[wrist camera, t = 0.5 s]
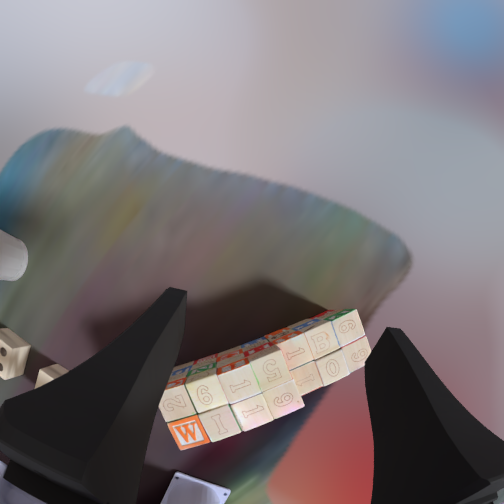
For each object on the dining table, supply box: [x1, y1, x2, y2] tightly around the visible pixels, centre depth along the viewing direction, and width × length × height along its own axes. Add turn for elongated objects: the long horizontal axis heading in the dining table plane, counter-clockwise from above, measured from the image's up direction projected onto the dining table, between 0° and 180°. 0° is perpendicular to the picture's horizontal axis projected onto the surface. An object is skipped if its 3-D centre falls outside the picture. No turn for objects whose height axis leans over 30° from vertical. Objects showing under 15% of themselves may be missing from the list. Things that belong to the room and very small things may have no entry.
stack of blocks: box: [159, 309, 371, 450], centre depth 32 cm, size 21×6×12 cm, turn 111°
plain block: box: [35, 364, 69, 389], centre depth 32 cm, size 5×5×5 cm
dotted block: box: [0, 328, 31, 380], centre depth 32 cm, size 5×5×5 cm
